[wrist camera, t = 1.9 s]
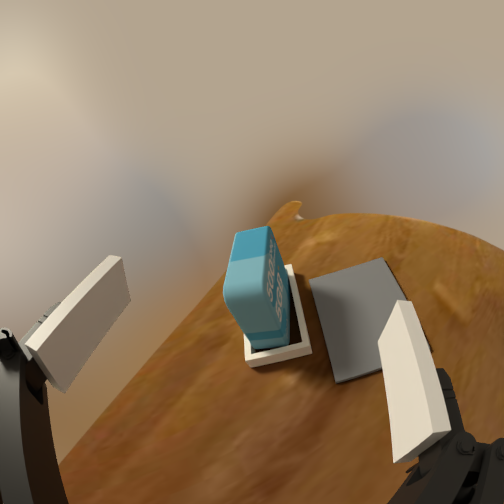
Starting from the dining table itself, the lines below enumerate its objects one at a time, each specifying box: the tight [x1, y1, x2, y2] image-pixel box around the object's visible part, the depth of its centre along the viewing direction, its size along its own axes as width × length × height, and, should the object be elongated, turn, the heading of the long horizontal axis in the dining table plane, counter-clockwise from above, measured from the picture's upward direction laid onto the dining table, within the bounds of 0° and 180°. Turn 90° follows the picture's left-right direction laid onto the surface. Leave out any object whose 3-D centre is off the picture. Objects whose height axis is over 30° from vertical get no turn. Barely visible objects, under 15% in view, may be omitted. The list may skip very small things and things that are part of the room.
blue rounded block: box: [223, 226, 290, 349], centre depth 36 cm, size 12×4×12 cm, turn 174°
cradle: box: [244, 264, 312, 368], centre depth 39 cm, size 8×15×2 cm, turn 3°
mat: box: [309, 257, 430, 383], centre depth 34 cm, size 12×17×1 cm
